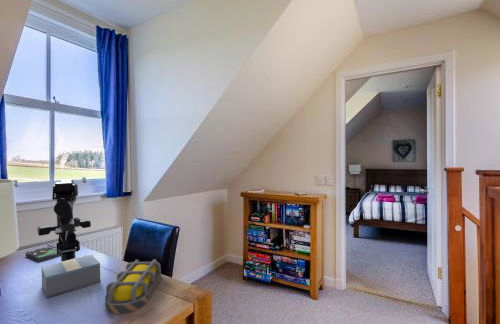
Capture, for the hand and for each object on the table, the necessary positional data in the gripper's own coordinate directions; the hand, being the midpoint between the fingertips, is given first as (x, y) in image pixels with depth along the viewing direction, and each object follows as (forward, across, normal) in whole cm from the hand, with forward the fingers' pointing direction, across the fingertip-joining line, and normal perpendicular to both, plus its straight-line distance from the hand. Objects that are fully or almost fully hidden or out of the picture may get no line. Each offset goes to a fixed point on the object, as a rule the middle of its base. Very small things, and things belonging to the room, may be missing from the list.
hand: (65, 246), depth 117 cm
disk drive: (+14, -4, +35) cm, 38 cm away
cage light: (+14, +17, -35) cm, 41 cm away
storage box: (+13, 0, -11) cm, 17 cm away
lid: (+6, 0, -11) cm, 13 cm away
